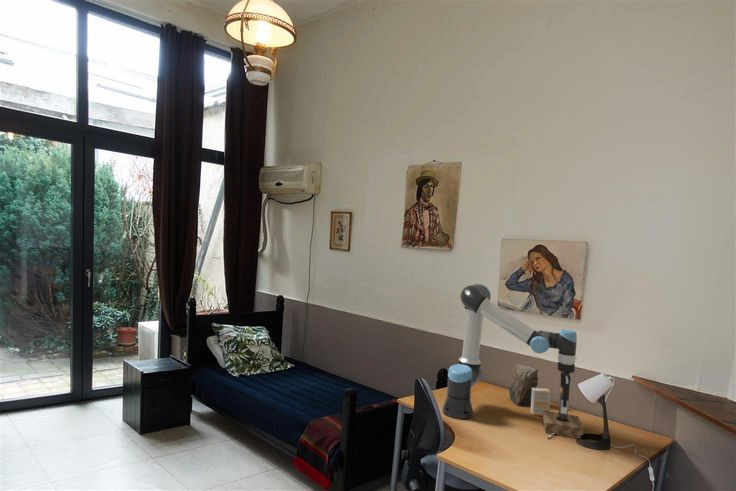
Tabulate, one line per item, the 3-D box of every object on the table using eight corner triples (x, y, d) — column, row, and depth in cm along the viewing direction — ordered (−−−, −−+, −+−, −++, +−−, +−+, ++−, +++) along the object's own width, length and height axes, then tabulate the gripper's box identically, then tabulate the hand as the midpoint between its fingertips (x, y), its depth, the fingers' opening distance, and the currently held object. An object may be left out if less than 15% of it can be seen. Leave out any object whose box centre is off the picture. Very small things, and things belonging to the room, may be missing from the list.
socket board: (545, 433, 212) (545, 422, 211) (542, 420, 227) (543, 410, 227) (582, 439, 207) (583, 428, 207) (577, 426, 222) (578, 416, 222)
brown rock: (507, 397, 258) (509, 362, 257) (529, 398, 259) (531, 363, 258) (516, 406, 245) (519, 369, 245) (539, 406, 246) (541, 370, 246)
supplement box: (546, 413, 237) (547, 388, 237) (549, 417, 232) (550, 391, 232) (529, 411, 238) (531, 387, 237) (532, 415, 233) (534, 390, 233)
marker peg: (558, 418, 215) (560, 389, 215) (557, 415, 219) (559, 386, 219) (568, 420, 214) (570, 390, 214) (567, 417, 218) (568, 388, 218)
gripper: (577, 368, 207) (574, 419, 207) (572, 359, 223) (569, 406, 224) (559, 366, 209) (556, 416, 210) (556, 357, 226) (553, 404, 226)
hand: (563, 411), depth 217 cm, fingers closed on marker peg, 4 cm apart
